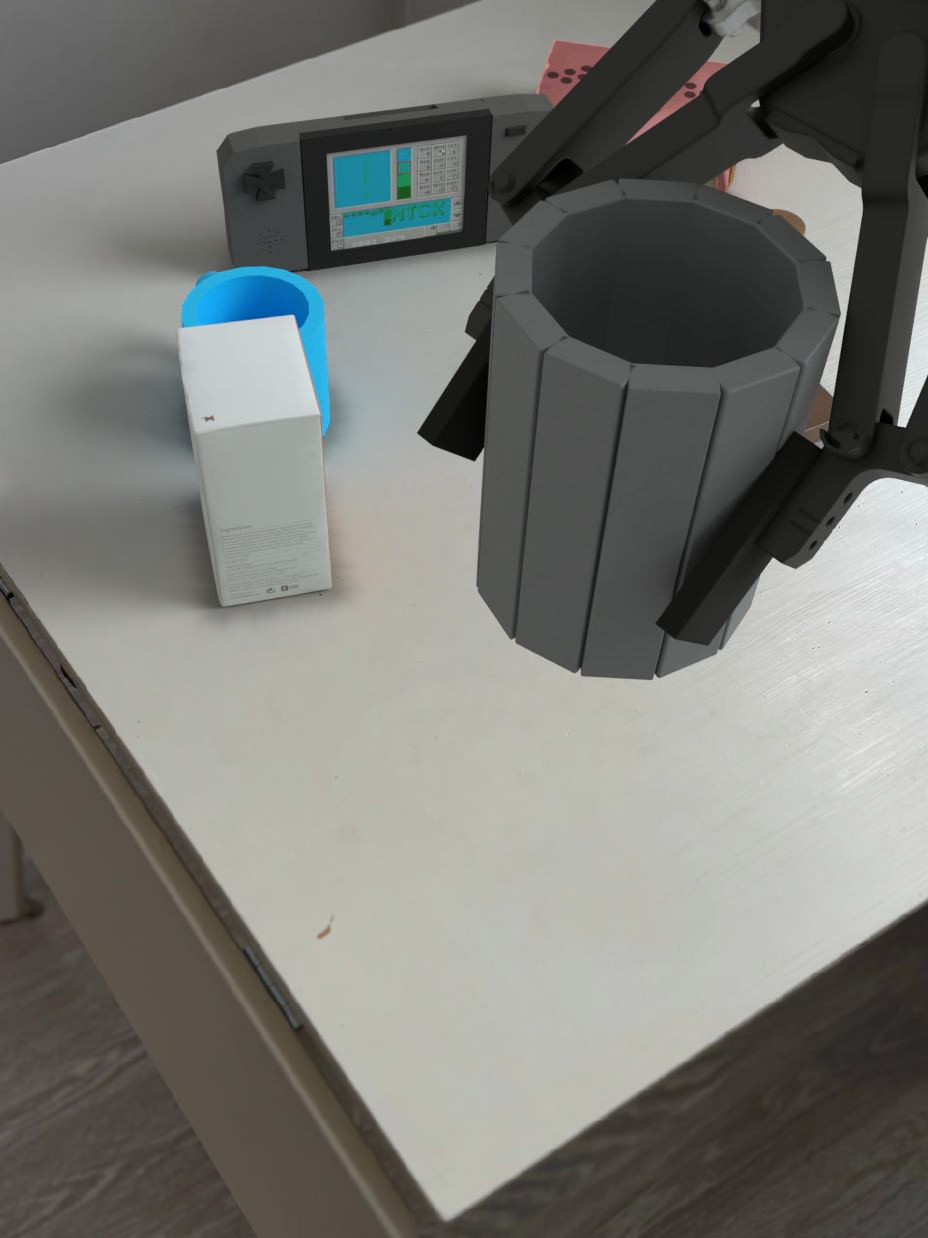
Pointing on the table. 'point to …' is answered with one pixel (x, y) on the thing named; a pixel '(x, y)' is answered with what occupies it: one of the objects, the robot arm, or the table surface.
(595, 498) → the slatted grey tube
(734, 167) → the book
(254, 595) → the small box
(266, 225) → the handheld gaming console
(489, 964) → the table surface
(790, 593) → the table surface
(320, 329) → the mug
